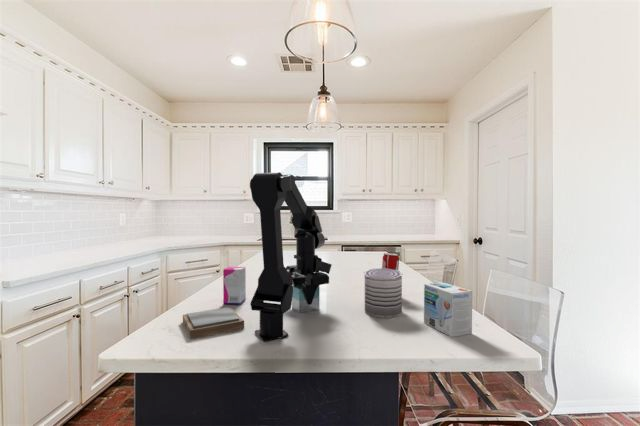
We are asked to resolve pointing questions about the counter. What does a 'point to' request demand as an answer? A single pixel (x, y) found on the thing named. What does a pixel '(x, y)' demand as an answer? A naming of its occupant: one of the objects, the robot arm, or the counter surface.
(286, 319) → the counter surface
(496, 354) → the counter surface
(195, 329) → the square wooden frame
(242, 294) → the supplement box
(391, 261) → the beverage can
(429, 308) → the light bulb box
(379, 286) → the can
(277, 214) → the robot arm
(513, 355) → the counter surface
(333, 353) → the counter surface
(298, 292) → the teal and white box
